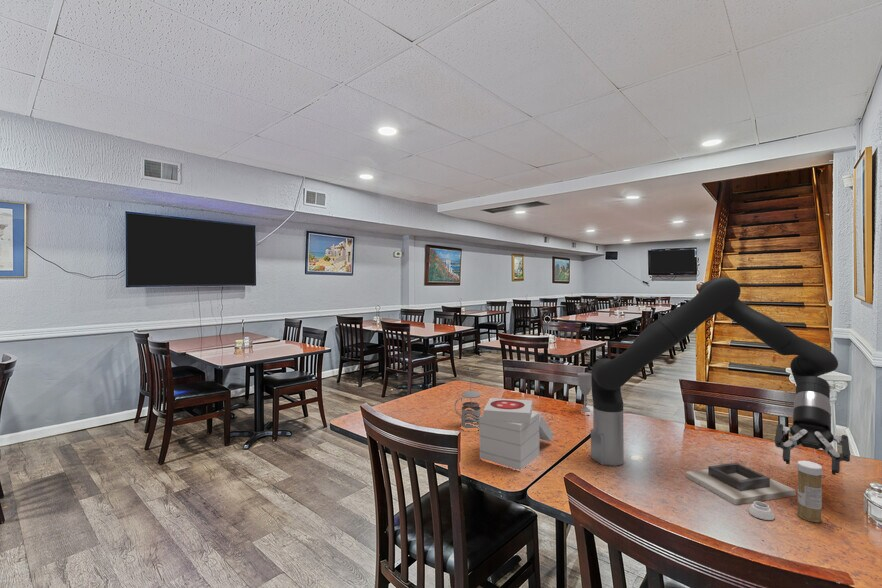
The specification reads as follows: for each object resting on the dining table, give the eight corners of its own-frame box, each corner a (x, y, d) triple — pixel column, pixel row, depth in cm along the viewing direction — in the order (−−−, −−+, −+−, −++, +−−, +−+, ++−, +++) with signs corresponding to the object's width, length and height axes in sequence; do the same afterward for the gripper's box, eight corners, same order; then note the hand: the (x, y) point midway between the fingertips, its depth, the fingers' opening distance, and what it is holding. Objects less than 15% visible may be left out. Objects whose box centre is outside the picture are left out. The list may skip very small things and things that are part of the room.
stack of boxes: (558, 444, 146) (558, 395, 146) (523, 476, 122) (522, 417, 122) (510, 434, 157) (510, 388, 157) (470, 461, 133) (469, 407, 133)
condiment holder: (735, 505, 105) (735, 489, 105) (685, 476, 120) (685, 463, 120) (795, 495, 109) (795, 480, 109) (740, 469, 125) (740, 456, 125)
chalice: (594, 416, 177) (594, 376, 176) (578, 416, 178) (578, 375, 178) (592, 411, 184) (591, 372, 184) (576, 411, 185) (576, 372, 185)
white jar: (745, 509, 103) (752, 519, 98) (745, 497, 103) (752, 507, 98) (769, 512, 101) (777, 523, 97) (769, 501, 101) (777, 511, 97)
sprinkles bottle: (795, 510, 102) (795, 458, 101) (820, 516, 99) (820, 462, 99) (798, 519, 98) (798, 464, 98) (824, 525, 95) (824, 469, 95)
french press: (484, 432, 160) (483, 369, 160) (455, 432, 160) (454, 369, 160) (482, 423, 170) (481, 364, 169) (454, 423, 170) (454, 365, 170)
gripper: (776, 399, 112) (772, 452, 104) (849, 410, 102) (850, 469, 94) (778, 414, 116) (774, 466, 108) (848, 425, 106) (850, 484, 98)
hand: (810, 468), depth 101 cm, fingers open, 8 cm apart
